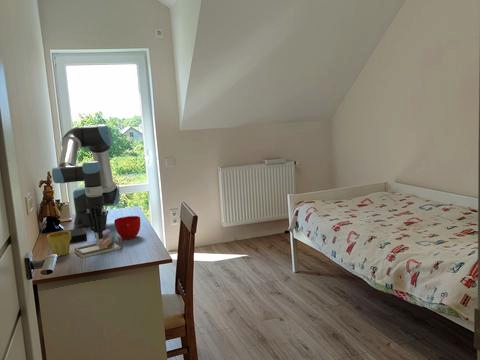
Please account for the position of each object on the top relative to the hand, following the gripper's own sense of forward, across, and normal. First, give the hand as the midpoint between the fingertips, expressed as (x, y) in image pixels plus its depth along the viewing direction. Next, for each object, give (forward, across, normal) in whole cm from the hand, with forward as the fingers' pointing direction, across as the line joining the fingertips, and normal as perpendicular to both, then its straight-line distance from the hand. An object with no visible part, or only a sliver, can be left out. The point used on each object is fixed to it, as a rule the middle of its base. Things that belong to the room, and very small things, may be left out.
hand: (99, 245), depth 206 cm
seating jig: (+4, -5, +3) cm, 7 cm away
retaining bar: (0, 0, +4) cm, 4 cm away
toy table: (+4, -12, +14) cm, 19 cm away
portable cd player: (+5, -37, +14) cm, 40 cm away
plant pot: (+4, -19, -7) cm, 20 cm away
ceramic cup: (+4, -4, +24) cm, 24 cm away
